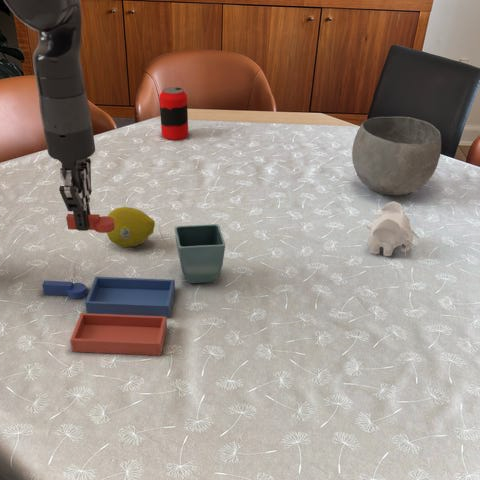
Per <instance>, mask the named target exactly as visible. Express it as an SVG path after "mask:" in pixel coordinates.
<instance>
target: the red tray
mask: <svg viewBox="0 0 480 480" xmlns="http://www.w3.org/2000/svg"><path fill="white" fill-rule="evenodd" d="M167 318H168V317H165V316H140V315H115V314H91V313H87V312H81V313H80V315H79V317H78V320H77V321H76V324H75V327H74V329H73V332H72V335H71V337H70V339H69V341H70V347H71V352H73V353H74V352H75V353H99V354H120V355H121V354H124V355H145V356H146V355H147V356H162V353H163V349H164V345H165V339H166V334H167V330H168V320H167Z"/></svg>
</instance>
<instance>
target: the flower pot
mask: <svg viewBox="0 0 480 480" xmlns="http://www.w3.org/2000/svg"><path fill="white" fill-rule="evenodd" d="M173 229H174V236H175V243H176V250H177V254H178V258H179V262H180V268H181V269H180V270H181V272H182V275H183V277H184V278H185V280H186V282H187V283H188V284H201V283H202V284H203V283H214V282H215V281H216V279H218V277H219V276H220V273H221V271H222V268H223V264H224V259H225V258H224V256H225V251H226V250H225V249H226V242H225V239H224V236H223V233H222V231H221V225H219V224H217V223H215V224H194V225H176V226H174V228H173Z"/></svg>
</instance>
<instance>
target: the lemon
mask: <svg viewBox="0 0 480 480" xmlns="http://www.w3.org/2000/svg"><path fill="white" fill-rule="evenodd" d="M107 216H108V217H111V218H113V219H114V224H115V229H114V230H113V231H111V232H107V233H106V236H107V237H108V239H109V241H110V242H111V243H113V244H115V245H117V246H118V247H123V248H131V247H136V246H139V245H141V244H142V243H144V242H145V241H146V240H147V239H148V238H149V237H150V236H151V235H152V234H153V233H154V230H155V225H156V223H155V220H154V219H153V218H152V217H150V216H149V215H148V214H146V212H144V211H142V210H140V209H138V208H134V207H129V206H121V207H117V208H114V209H113V210H111V211H110V212H109V213H108V215H107Z"/></svg>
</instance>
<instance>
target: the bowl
mask: <svg viewBox="0 0 480 480" xmlns="http://www.w3.org/2000/svg"><path fill="white" fill-rule="evenodd" d="M351 149H352V151H351V159H352V165H353V168H354V171H355V173H356V175H357V177H358V179H359V180H360V182H362V184H363V185H364V186H365V187H367V188H369V189H370V190H372V191H374V192H376V193H378V194H382V195H388V196H402V195H407V194H410V193H413V192H416V191H418V190H420V189H422V187H424V186H425V185H426V184H427V183H428V182H429V181H430V180H431V178H432V177H433V176H434V174H435V171H436V170H437V167H438V164H439V162H440V159H441V153H442V135H441V132H440V130H439V129H438V128H436V126H434V125H433V124H432V123H430V122H428V121H426V120H422V119H418V118H414V117H410V116H376V117H369V118H367V119H366V120H364V121H363V122H362V123H361V124H360V126H359V128H358V130H357V132H356V134H355V137H354V139H353V143H352V148H351Z"/></svg>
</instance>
